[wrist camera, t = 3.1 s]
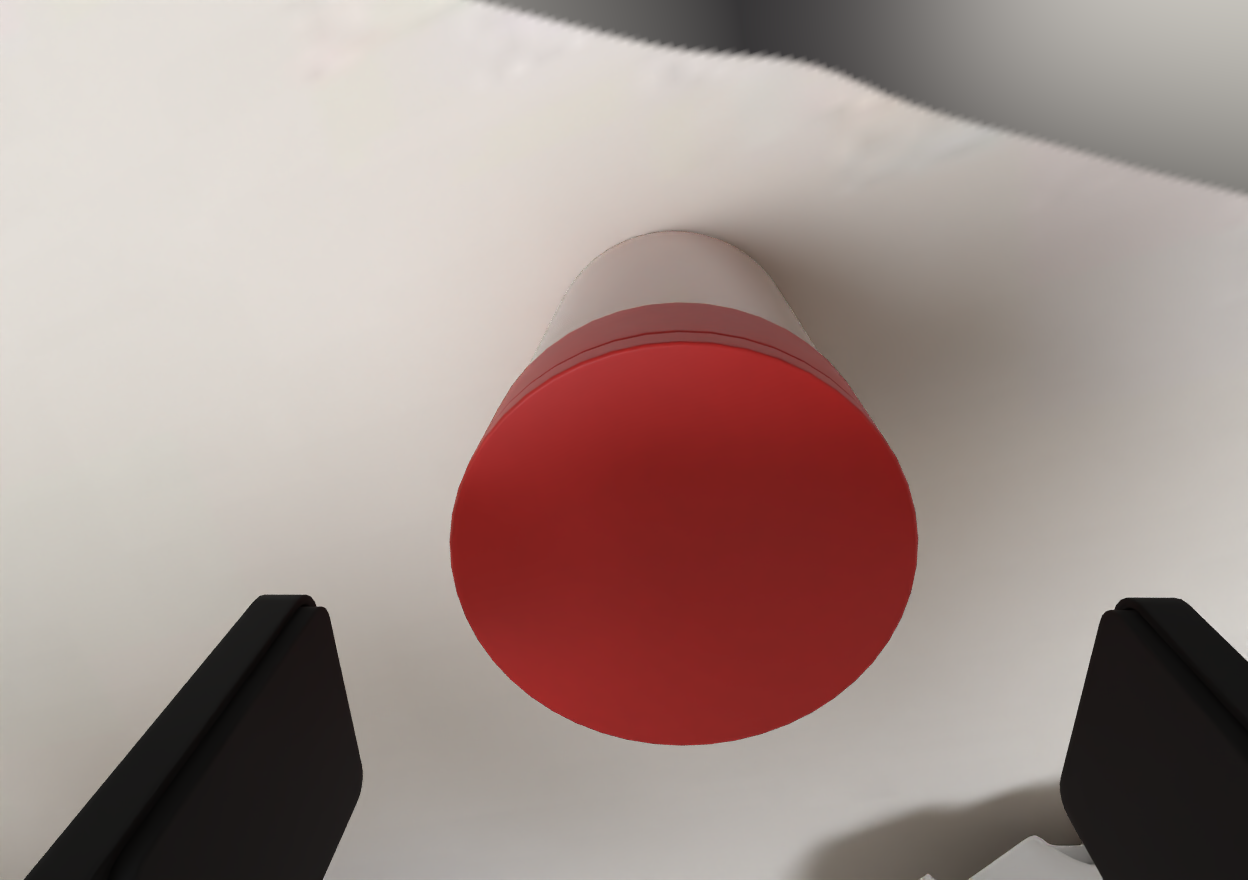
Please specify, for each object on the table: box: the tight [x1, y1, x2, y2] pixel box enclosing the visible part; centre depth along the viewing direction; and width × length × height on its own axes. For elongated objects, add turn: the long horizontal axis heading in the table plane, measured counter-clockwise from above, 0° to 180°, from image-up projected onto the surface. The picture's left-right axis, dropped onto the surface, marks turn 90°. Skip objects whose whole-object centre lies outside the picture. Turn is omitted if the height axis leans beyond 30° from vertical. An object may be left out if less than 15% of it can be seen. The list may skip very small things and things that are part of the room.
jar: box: [528, 231, 818, 366], centre depth 18 cm, size 7×7×11 cm
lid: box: [450, 302, 918, 745], centre depth 14 cm, size 8×8×2 cm
